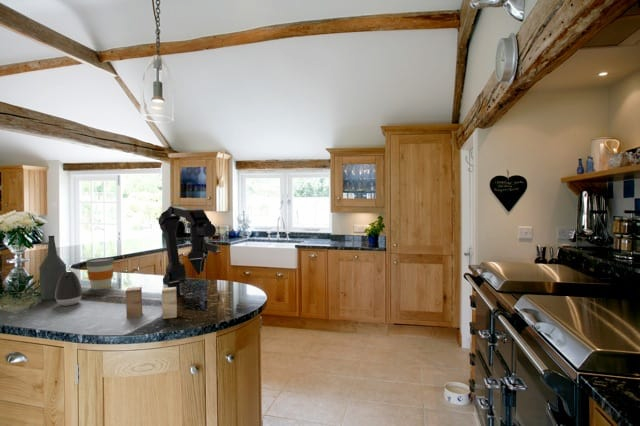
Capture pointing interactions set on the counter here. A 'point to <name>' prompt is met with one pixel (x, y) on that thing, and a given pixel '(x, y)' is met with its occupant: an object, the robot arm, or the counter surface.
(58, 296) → the aroma diffuser
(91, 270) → the reusable coffee cup
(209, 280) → the counter surface
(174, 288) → the maple block
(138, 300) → the walnut block
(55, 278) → the bottle
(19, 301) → the counter surface
